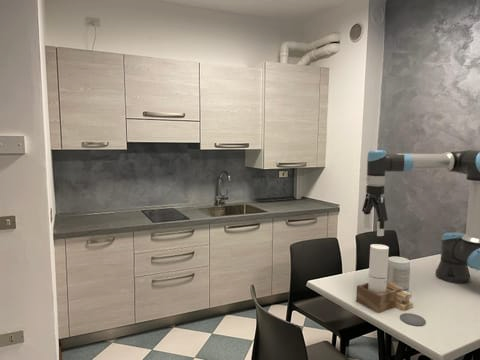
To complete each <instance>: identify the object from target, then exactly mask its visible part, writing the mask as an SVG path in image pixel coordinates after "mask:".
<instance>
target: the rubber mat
mask: <svg viewBox="0 0 480 360" xmlns="http://www.w3.org/2000/svg"><path fill="white" fill-rule="evenodd" d="M399 319H400V321H401V322H402V323H405V324H407V325H410V326H414V327H422V326H425V325H426V323H427V321H426V319H425V318H424V317H423V316H421V315H418V314H416V313H411V312H408V313H407V312H405V313H402V314H400V316H399Z"/></svg>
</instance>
